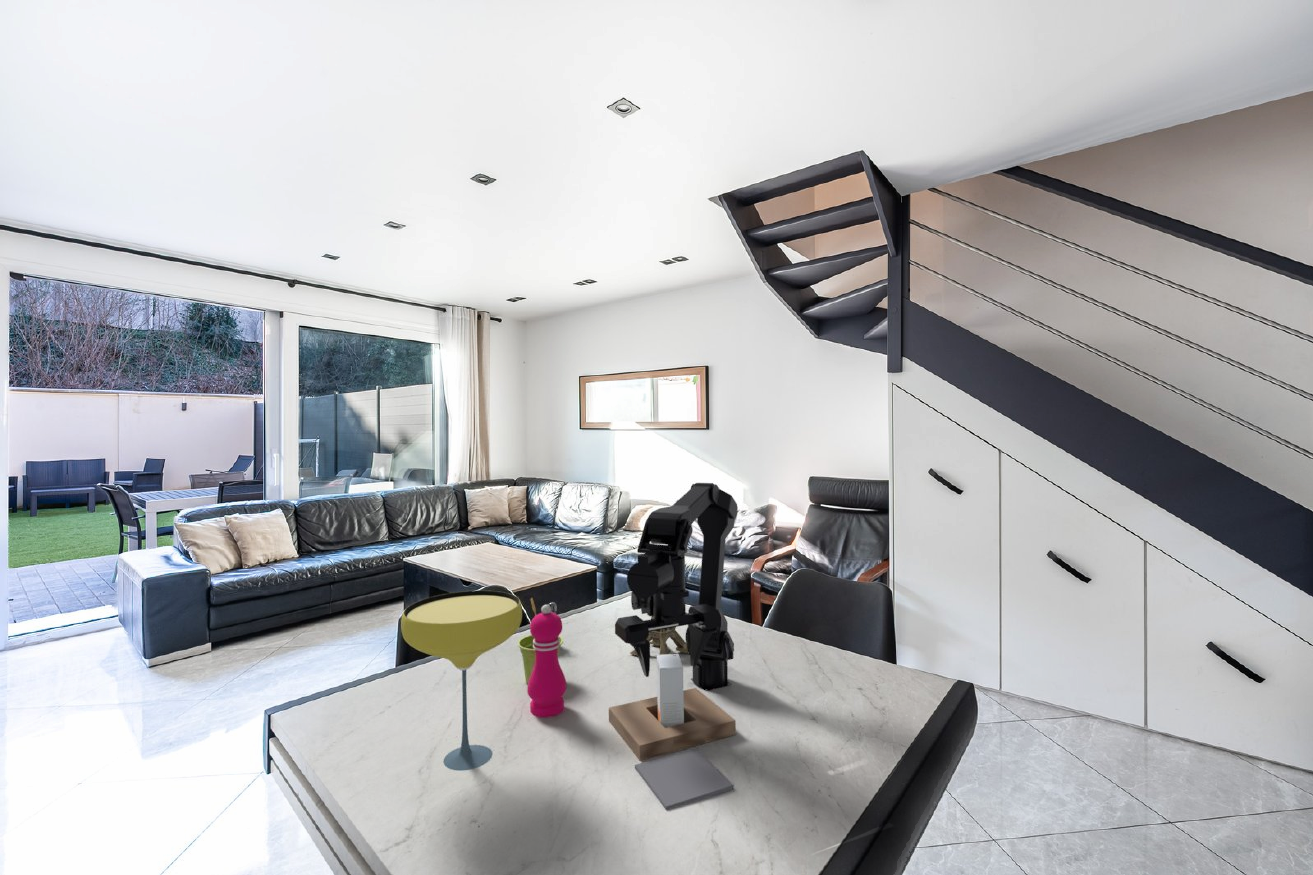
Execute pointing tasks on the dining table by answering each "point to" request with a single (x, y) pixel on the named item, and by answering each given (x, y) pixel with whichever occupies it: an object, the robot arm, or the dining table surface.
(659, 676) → the skincare box
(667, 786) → the coaster
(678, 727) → the holder block
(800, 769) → the dining table surface
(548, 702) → the pepper mill
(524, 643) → the plant pot
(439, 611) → the cocktail glass
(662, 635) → the eiffel tower
